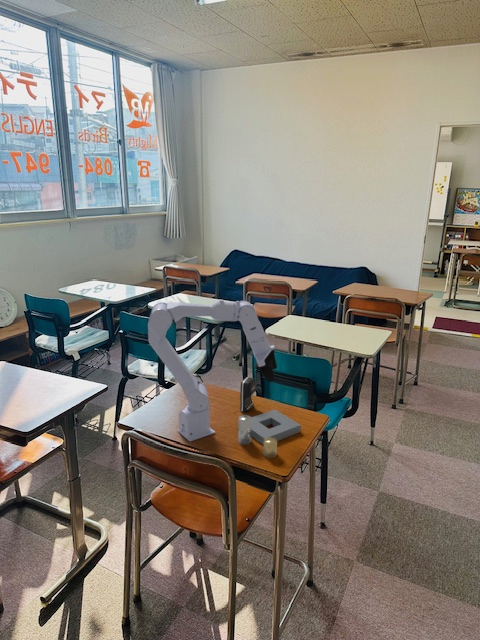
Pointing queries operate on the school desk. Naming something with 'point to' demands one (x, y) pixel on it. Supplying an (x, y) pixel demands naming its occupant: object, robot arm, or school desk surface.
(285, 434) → the hole board
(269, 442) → the short pin
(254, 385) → the battery charger
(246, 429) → the long pin
